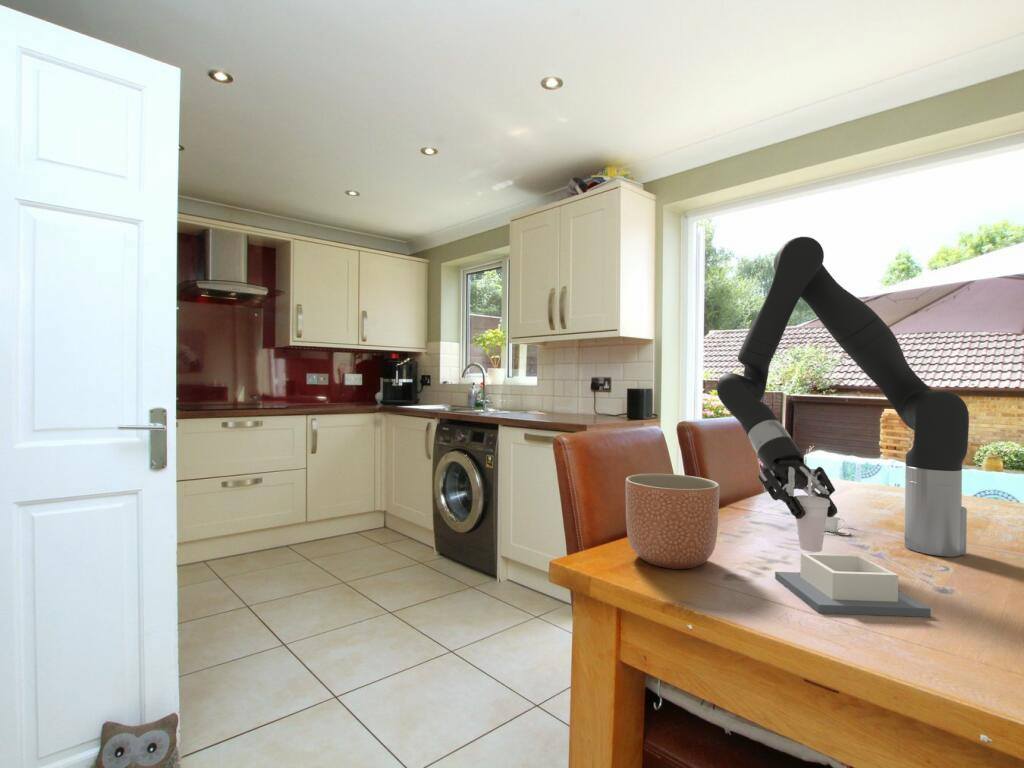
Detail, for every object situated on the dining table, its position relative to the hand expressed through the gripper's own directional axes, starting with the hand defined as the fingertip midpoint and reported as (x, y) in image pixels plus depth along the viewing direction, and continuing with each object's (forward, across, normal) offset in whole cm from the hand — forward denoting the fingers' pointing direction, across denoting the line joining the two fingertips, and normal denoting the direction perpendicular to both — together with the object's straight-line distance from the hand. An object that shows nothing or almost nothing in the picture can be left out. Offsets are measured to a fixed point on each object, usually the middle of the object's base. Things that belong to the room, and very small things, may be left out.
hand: (817, 515), depth 100 cm
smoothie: (+4, 0, +6) cm, 7 cm away
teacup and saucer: (-9, +22, +23) cm, 33 cm away
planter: (+2, -27, +11) cm, 29 cm away
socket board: (+16, -8, -4) cm, 18 cm away
